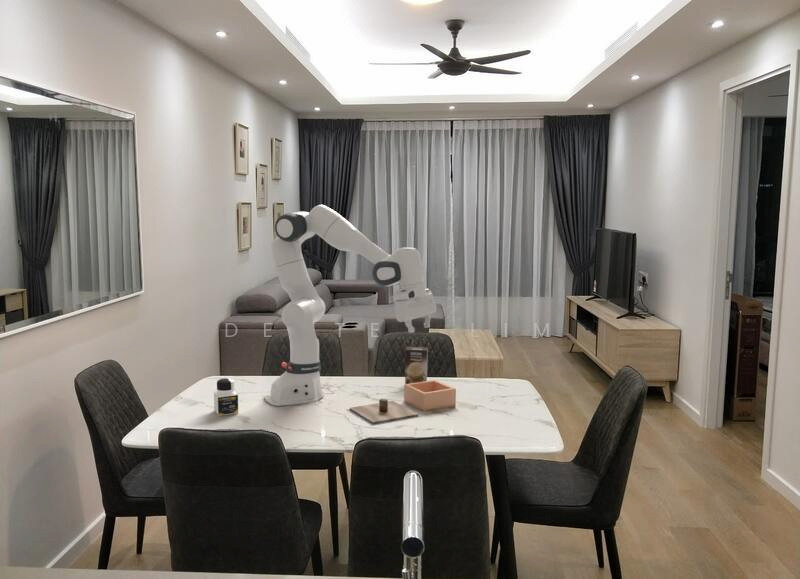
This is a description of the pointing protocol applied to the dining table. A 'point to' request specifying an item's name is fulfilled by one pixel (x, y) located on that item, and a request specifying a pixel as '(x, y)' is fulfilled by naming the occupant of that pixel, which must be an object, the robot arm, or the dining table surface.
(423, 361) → the coffee box
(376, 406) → the walnut lid
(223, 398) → the medicine bottle
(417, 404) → the terracotta open box
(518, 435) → the dining table surface
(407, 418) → the slate mat
